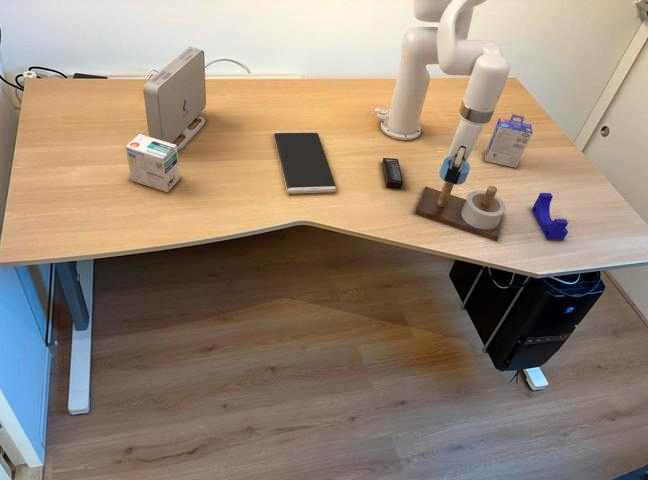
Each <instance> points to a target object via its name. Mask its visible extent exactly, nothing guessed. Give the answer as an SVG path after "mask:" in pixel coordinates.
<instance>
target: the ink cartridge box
mask: <svg viewBox="0 0 648 480" xmlns="http://www.w3.org/2000/svg"><path fill="white" fill-rule="evenodd" d="M514 119H515V120H514ZM516 119H519V120H521V121H519V120H516ZM524 121H525V116H522V115H519V114H513V113H512V114H511V117H510V119H506V118H501V117H498V120H497V121H496V125H495V128H494V130H493V133H492V134H491V137H490V140H489V143H488V145H487V148H486V150H485V152H484V162H487V163H493V164H497V165H500V166H501V165H502V166H505V167H510V168H515V169H516V168H517V167H518V165H519V163H520V162H521V158H522V157H523V154H524V152H525V149H526V148H527V146H528V143H529V142H530V139H531V137H532V135H533V126H532V124H531V123H525V122H524Z"/></svg>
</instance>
